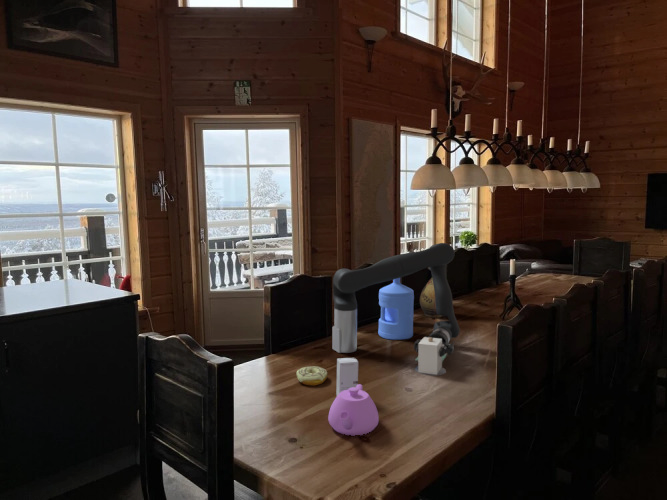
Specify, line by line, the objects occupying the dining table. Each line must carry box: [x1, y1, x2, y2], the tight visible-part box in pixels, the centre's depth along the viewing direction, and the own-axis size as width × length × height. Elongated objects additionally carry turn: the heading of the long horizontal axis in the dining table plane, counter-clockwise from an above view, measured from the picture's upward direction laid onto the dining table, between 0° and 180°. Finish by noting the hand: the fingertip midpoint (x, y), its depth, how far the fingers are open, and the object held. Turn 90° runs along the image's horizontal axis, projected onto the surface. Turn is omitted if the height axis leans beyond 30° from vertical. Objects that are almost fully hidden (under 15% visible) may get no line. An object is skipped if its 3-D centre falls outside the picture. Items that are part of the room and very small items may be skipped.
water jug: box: [377, 277, 415, 341], centre depth 219 cm, size 16×16×28 cm
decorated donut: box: [296, 365, 328, 387], centre depth 167 cm, size 10×11×4 cm
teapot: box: [327, 383, 380, 437], centre depth 133 cm, size 14×20×11 cm
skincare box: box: [335, 357, 359, 397], centre depth 152 cm, size 6×4×12 cm
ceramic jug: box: [419, 267, 443, 318], centre depth 257 cm, size 17×15×30 cm
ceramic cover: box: [417, 336, 443, 376], centre depth 176 cm, size 9×7×12 cm
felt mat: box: [414, 353, 448, 363], centre depth 190 cm, size 12×10×1 cm
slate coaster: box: [414, 365, 447, 377], centre depth 176 cm, size 11×11×1 cm
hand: (429, 352), depth 174 cm, fingers open, 7 cm apart
